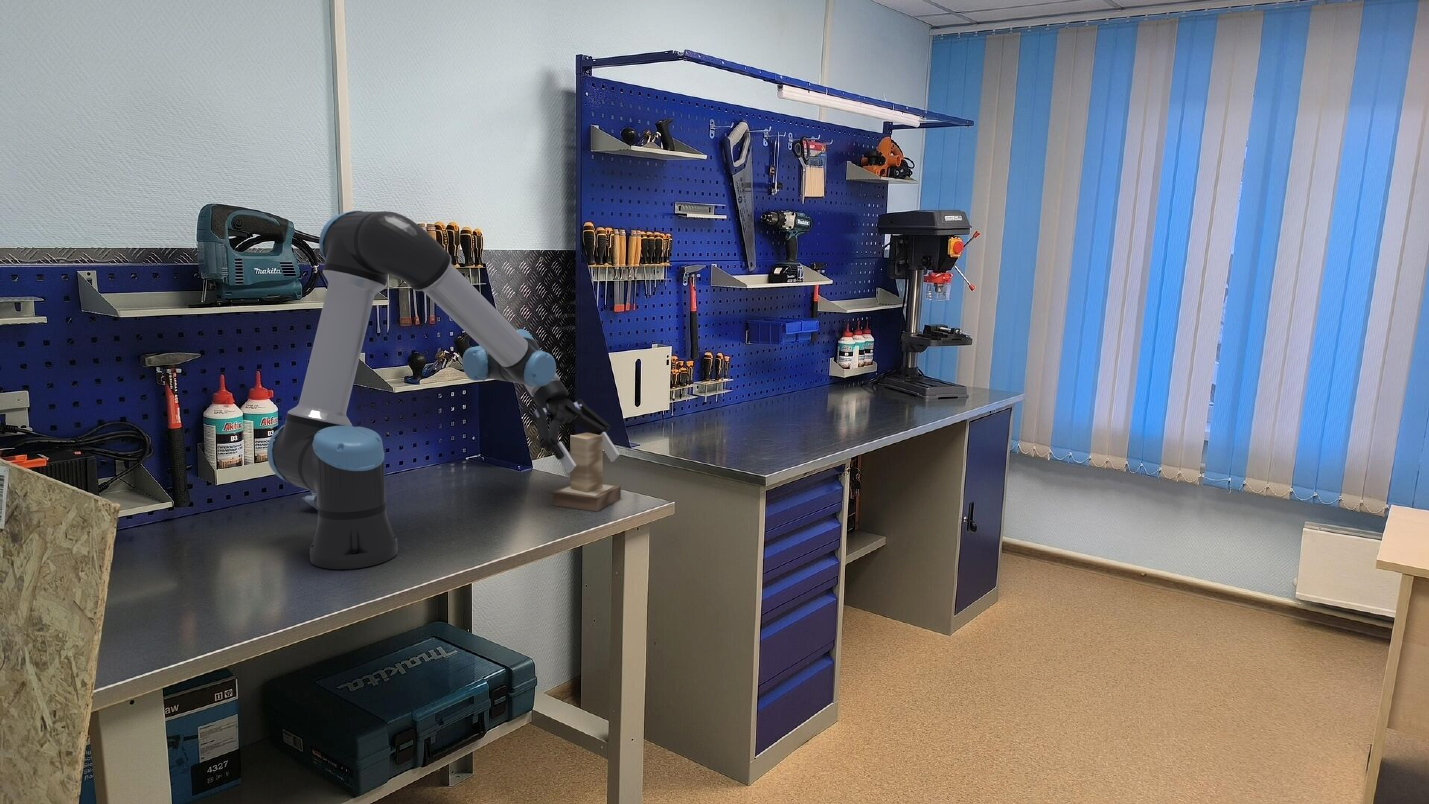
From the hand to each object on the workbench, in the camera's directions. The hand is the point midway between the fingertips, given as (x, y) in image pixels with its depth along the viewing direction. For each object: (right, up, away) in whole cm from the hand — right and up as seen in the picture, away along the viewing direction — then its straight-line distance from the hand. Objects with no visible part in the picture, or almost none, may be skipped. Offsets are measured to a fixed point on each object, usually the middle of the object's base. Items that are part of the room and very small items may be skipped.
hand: (594, 463), depth 207 cm
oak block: (-2, -6, +2) cm, 7 cm away
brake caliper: (-56, -9, -4) cm, 57 cm away
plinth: (-2, -9, +3) cm, 9 cm away
